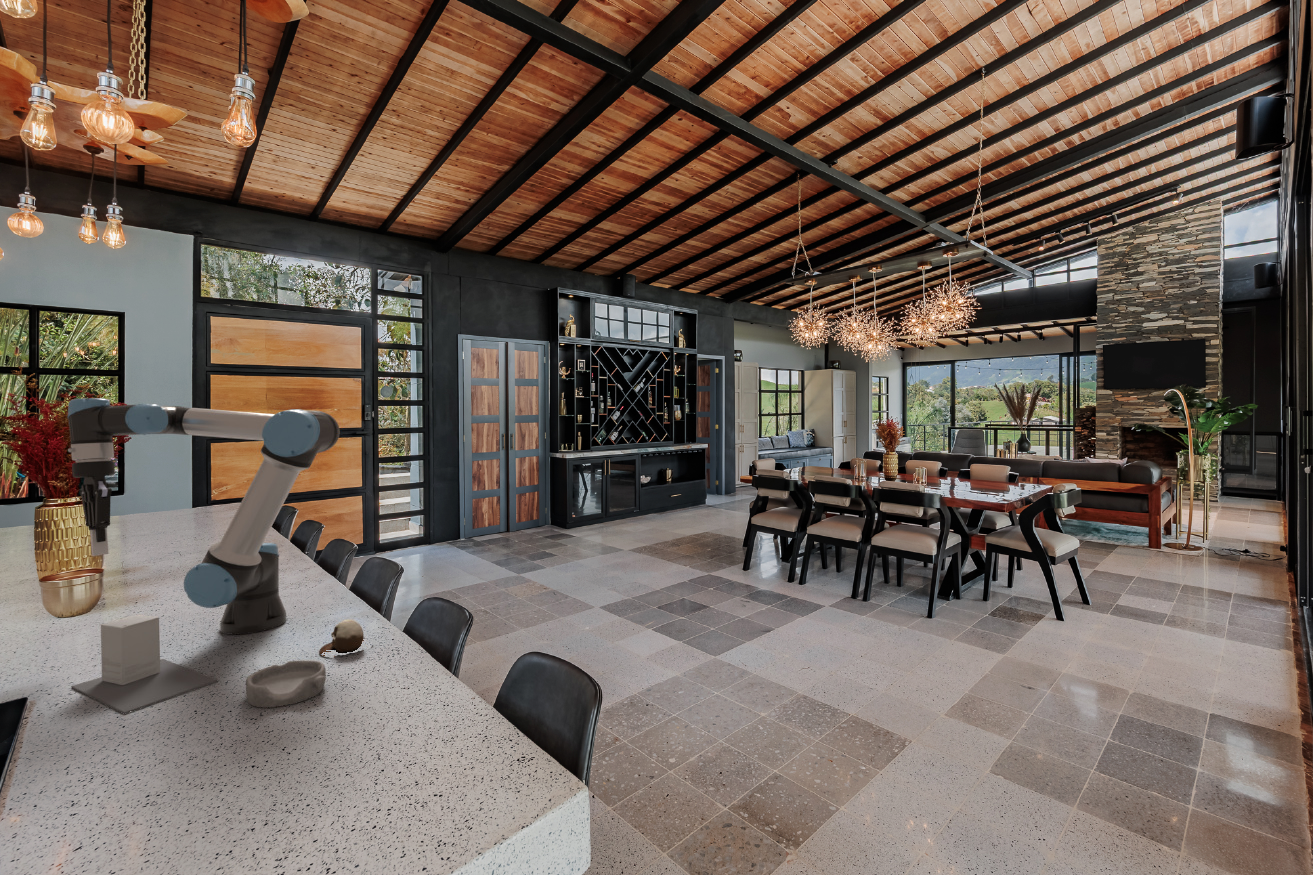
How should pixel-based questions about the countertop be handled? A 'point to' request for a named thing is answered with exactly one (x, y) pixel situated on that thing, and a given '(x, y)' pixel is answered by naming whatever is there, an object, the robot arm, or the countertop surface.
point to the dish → (285, 683)
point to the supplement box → (130, 649)
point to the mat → (145, 687)
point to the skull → (345, 637)
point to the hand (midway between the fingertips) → (100, 554)
